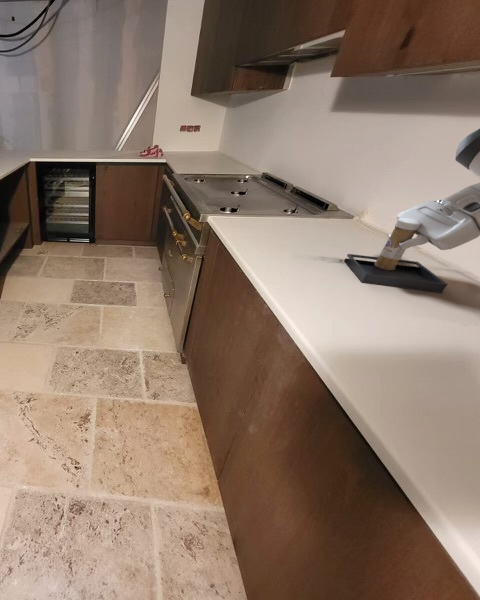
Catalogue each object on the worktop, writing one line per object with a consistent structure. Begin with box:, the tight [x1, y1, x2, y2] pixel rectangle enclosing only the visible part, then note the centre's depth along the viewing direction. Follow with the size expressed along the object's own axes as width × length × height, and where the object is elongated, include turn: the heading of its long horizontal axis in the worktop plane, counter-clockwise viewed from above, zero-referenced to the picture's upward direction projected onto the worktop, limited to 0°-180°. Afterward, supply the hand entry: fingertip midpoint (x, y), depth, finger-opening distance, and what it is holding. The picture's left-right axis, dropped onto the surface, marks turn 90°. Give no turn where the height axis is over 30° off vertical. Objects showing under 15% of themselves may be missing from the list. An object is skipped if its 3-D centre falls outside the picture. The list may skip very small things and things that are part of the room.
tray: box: [344, 253, 449, 294], centre depth 89 cm, size 17×14×2 cm
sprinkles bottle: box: [374, 218, 421, 270], centre depth 86 cm, size 5×5×13 cm
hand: (394, 242), depth 86 cm, fingers closed on sprinkles bottle, 4 cm apart
